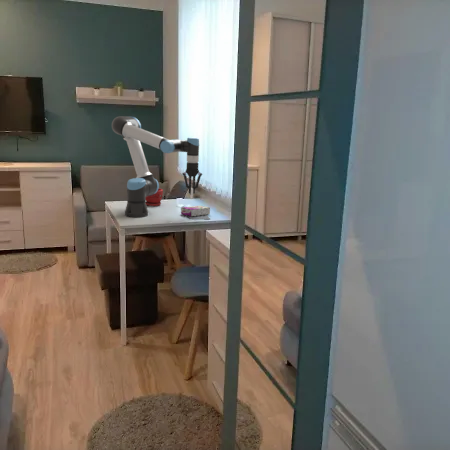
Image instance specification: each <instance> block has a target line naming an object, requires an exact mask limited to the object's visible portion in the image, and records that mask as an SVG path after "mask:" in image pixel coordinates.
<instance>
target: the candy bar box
mask: <svg viewBox="0 0 450 450" xmlns="http://www.w3.org/2000/svg"><path fill="white" fill-rule="evenodd" d="M210 211H211V207H209V206H205V205H204V206H203V205H195V206H194V205H193V206H182V207H180V215H182V216H187V217H188V216H191V217H192V216H200V215H208V216H209V215H211V212H210Z"/></svg>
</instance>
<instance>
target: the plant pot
mask: <svg viewBox="0 0 450 450" xmlns="http://www.w3.org/2000/svg"><path fill="white" fill-rule="evenodd" d="M163 194H164V189H162V188H160V187H159V188H158V191H157V192H156V193H155V194H153V195H151V196H147V197H146V206H149V207H157V206H161V204H162V199H163Z"/></svg>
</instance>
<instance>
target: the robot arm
mask: <svg viewBox="0 0 450 450" xmlns="http://www.w3.org/2000/svg"><path fill="white" fill-rule="evenodd" d="M111 129H112V131H113V132H114V133H115V134H117V135H120V136H121V137H122V139H123V140H124V141H126V144H127V147H128V149H129V150H128V151H129V153H130V154H129V155H130V157H131V160H132V163H133V166H134V170H135V173H136V177H133V178H130V179H128V180H127V183H126V198H127V200H126V201H127V203H126V206H125V209H124V216H126V217H129V216H130V218H142V217H143V218H144V217H147V216H149V209H148V207H147V206H148V205H146V197H147V196H151V195H153V194H155V193H156V192H157V191H158V188H159V189H160V184H159V181H158V180H157V179H156V178H154V174H153V173H151V172H150V170H149V166H148V163H147V162H148V161H147V159H146V156H145V153H144V150H143V146H142V144H141V143H143V144H145V145H149V146H151V147H154V148H156V149H158V150H160V151H161V152H162V153H164V154H172V153H180V152H181V153H186V169H185V171H184V172H182V173H181V174H182V175H183V177H184V178H183V180H184V183H185V187H186V189H188V194H189V195H190V197H189V198H190V200H194V194H195V192H196V189H198V188H199V184H200V181H201V177H202V175H203V173H202V172H200V170H199V163H198V162H200V161H199V157H200V155H199V153H200V138H198V137H193V136H191V137H189V136H188V137H187V138H186V140H185V139H176V138H175V139H168V138H165V137H164V136H160V135H158V134H156V133H153V132H151V131H148V130H145V129H143V128H142V124H141V122H140V120H138V118H136V117H135V116H130V115H129V116H122V115H121V116H120V115H119V116H116V117H115V118H114V119H113V120H112V122H111ZM187 176H188V179H187ZM196 178H197V179H196Z"/></svg>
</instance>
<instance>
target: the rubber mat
mask: <svg viewBox="0 0 450 450" xmlns="http://www.w3.org/2000/svg"><path fill="white" fill-rule="evenodd" d="M188 218H189V220H190V219H204V220H211V218H210V217H209V214H208V215H200V216H192V217H191V216H189V217H188Z"/></svg>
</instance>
